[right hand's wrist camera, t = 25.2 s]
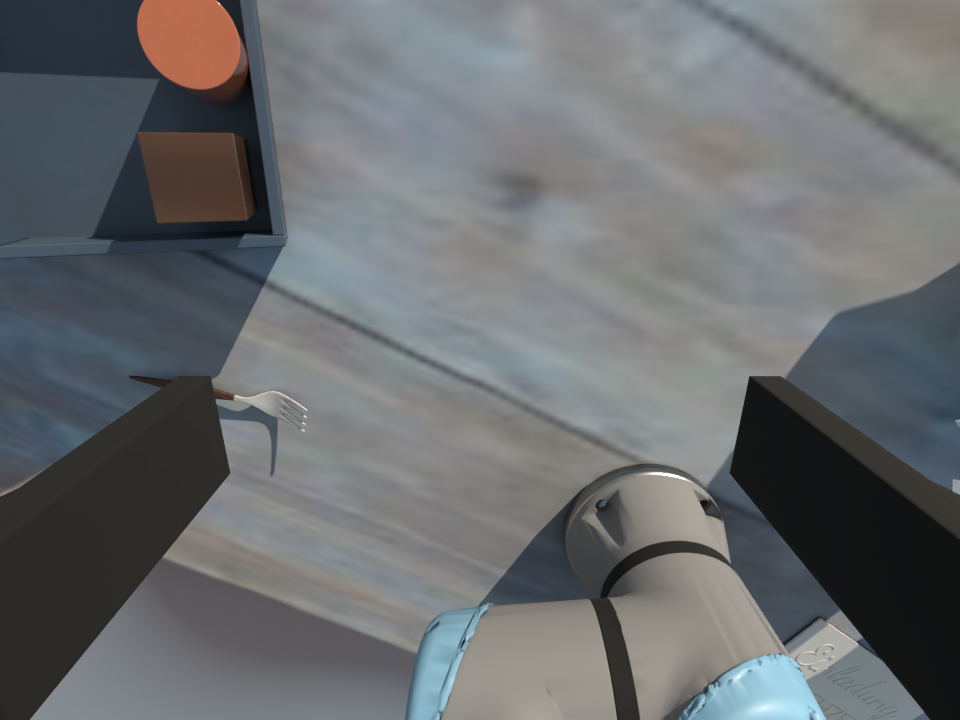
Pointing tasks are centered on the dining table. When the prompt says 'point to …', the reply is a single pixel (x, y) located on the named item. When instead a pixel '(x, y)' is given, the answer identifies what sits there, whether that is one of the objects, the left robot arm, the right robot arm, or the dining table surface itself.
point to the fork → (248, 400)
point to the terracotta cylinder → (195, 48)
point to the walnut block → (198, 176)
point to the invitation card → (849, 677)
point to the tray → (112, 134)
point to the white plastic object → (958, 485)
